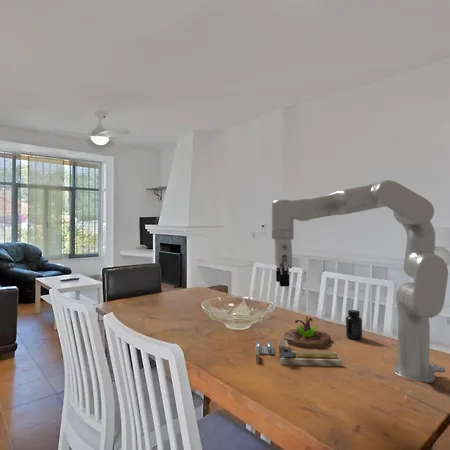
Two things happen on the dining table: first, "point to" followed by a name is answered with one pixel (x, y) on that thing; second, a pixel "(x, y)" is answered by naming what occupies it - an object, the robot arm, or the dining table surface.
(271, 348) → the v block
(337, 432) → the dining table surface
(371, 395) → the dining table surface
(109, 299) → the dining table surface
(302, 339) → the plant
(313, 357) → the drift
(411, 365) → the robot arm
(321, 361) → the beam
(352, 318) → the supplement bottle
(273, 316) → the dining table surface
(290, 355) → the dark grey short cylinder
